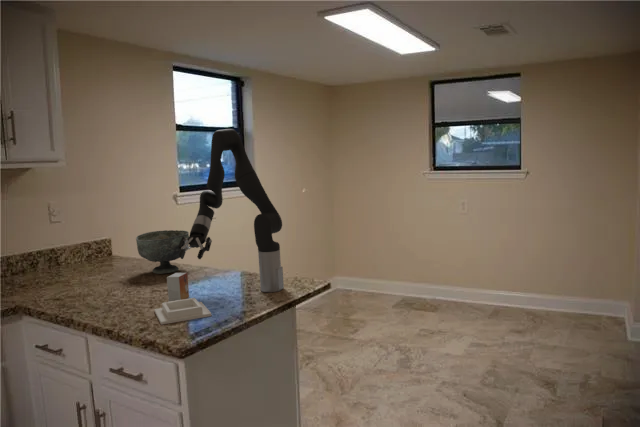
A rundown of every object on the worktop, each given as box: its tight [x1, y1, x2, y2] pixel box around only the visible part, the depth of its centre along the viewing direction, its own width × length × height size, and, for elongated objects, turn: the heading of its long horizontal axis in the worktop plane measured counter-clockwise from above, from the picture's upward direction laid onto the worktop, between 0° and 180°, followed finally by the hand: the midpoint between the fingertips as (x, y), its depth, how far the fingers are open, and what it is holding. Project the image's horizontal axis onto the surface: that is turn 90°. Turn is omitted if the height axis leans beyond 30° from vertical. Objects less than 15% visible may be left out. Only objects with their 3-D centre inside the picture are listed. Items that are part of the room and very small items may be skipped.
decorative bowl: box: [135, 230, 190, 275], centre depth 274 cm, size 27×26×20 cm
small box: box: [166, 272, 190, 302], centre depth 219 cm, size 8×6×10 cm
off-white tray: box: [153, 297, 212, 326], centre depth 199 cm, size 18×18×4 cm
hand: (190, 258), depth 229 cm, fingers open, 8 cm apart
